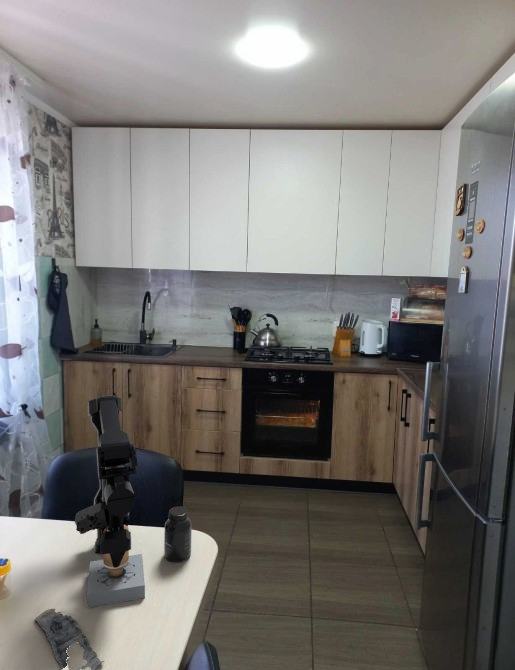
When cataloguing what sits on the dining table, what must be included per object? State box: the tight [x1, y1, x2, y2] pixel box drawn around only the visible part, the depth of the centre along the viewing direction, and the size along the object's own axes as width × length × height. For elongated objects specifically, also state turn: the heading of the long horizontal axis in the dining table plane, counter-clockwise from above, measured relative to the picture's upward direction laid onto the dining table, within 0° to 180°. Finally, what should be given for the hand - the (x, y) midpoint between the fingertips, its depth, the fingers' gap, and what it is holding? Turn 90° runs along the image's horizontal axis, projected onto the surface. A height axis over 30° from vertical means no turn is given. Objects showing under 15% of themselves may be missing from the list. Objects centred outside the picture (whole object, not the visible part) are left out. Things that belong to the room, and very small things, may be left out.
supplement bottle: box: [163, 506, 193, 563], centre depth 115 cm, size 7×7×12 cm
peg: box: [102, 525, 130, 576], centre depth 103 cm, size 6×6×10 cm
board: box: [86, 553, 146, 609], centre depth 103 cm, size 12×12×3 cm
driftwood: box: [34, 608, 105, 670], centre depth 87 cm, size 21×7×2 cm, turn 41°
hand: (116, 559), depth 103 cm, fingers closed on peg, 5 cm apart
